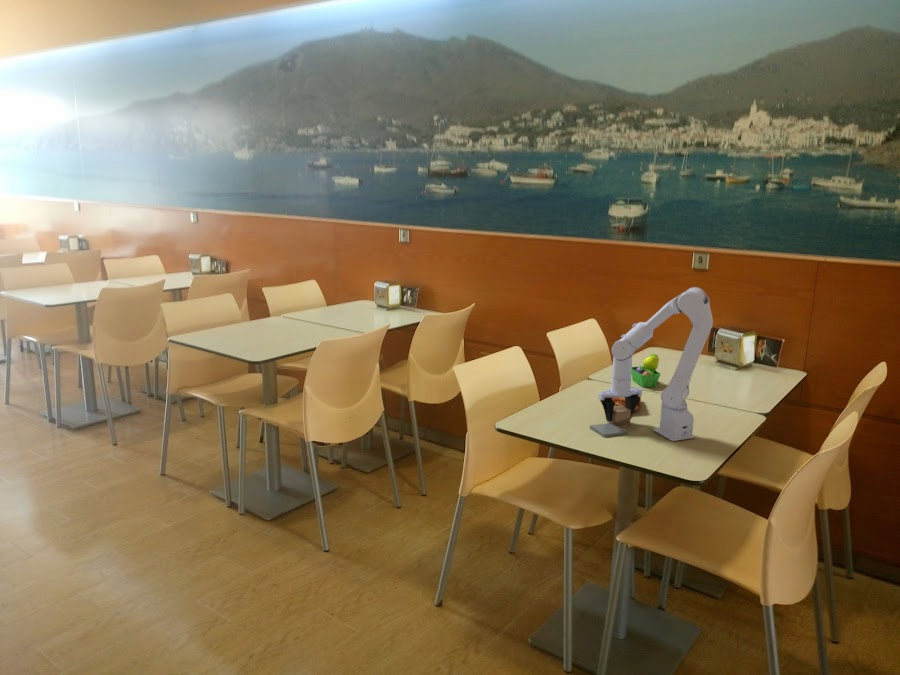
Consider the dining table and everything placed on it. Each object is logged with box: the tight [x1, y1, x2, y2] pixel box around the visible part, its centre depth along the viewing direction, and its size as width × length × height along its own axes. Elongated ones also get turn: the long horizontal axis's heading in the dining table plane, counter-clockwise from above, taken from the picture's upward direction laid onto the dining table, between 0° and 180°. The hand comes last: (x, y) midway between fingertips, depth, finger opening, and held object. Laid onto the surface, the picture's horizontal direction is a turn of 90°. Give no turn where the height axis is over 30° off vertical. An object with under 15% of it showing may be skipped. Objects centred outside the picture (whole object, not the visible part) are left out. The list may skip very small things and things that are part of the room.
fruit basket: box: [631, 353, 661, 388], centre depth 253 cm, size 11×9×11 cm
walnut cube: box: [606, 406, 631, 428], centre depth 212 cm, size 5×5×5 cm
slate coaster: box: [589, 422, 628, 438], centre depth 207 cm, size 8×8×1 cm
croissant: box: [612, 396, 642, 412], centre depth 227 cm, size 21×10×8 cm, turn 143°
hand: (618, 419), depth 213 cm, fingers open, 6 cm apart
